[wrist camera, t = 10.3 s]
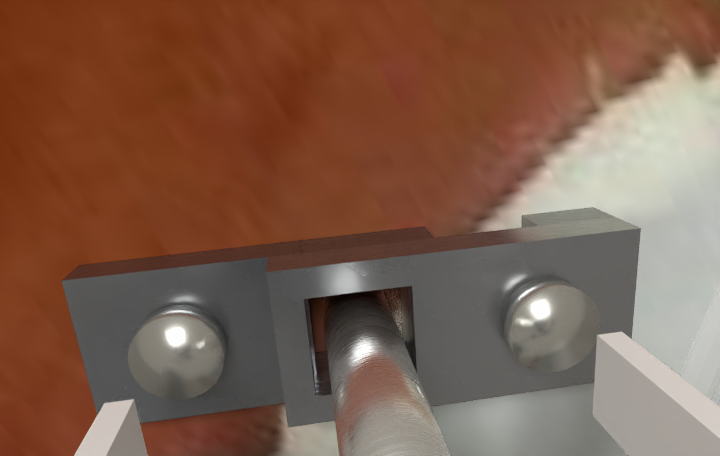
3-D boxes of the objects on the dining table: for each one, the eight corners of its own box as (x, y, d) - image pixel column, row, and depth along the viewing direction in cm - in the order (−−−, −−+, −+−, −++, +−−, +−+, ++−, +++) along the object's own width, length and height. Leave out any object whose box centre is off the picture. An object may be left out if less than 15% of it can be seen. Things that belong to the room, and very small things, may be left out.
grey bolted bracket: (114, 404, 21) (74, 478, 17) (79, 265, 19) (25, 312, 15) (586, 339, 23) (645, 392, 19) (593, 207, 21) (660, 236, 17)
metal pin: (324, 338, 21) (361, 648, 10) (318, 279, 20) (350, 540, 9) (387, 330, 21) (495, 623, 10) (383, 272, 21) (495, 516, 9)
